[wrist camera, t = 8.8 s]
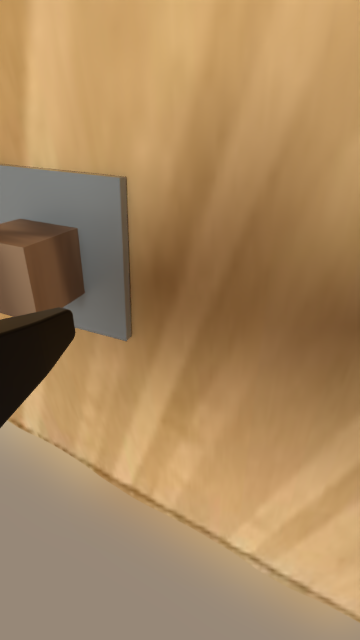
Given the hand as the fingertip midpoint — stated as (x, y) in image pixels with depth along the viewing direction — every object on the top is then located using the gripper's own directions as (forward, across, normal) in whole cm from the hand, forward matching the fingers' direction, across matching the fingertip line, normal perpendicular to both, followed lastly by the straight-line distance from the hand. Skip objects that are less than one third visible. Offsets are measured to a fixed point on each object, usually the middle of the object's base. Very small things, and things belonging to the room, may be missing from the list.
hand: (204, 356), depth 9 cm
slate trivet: (+12, +15, +3) cm, 19 cm away
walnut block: (+11, +15, +3) cm, 19 cm away
